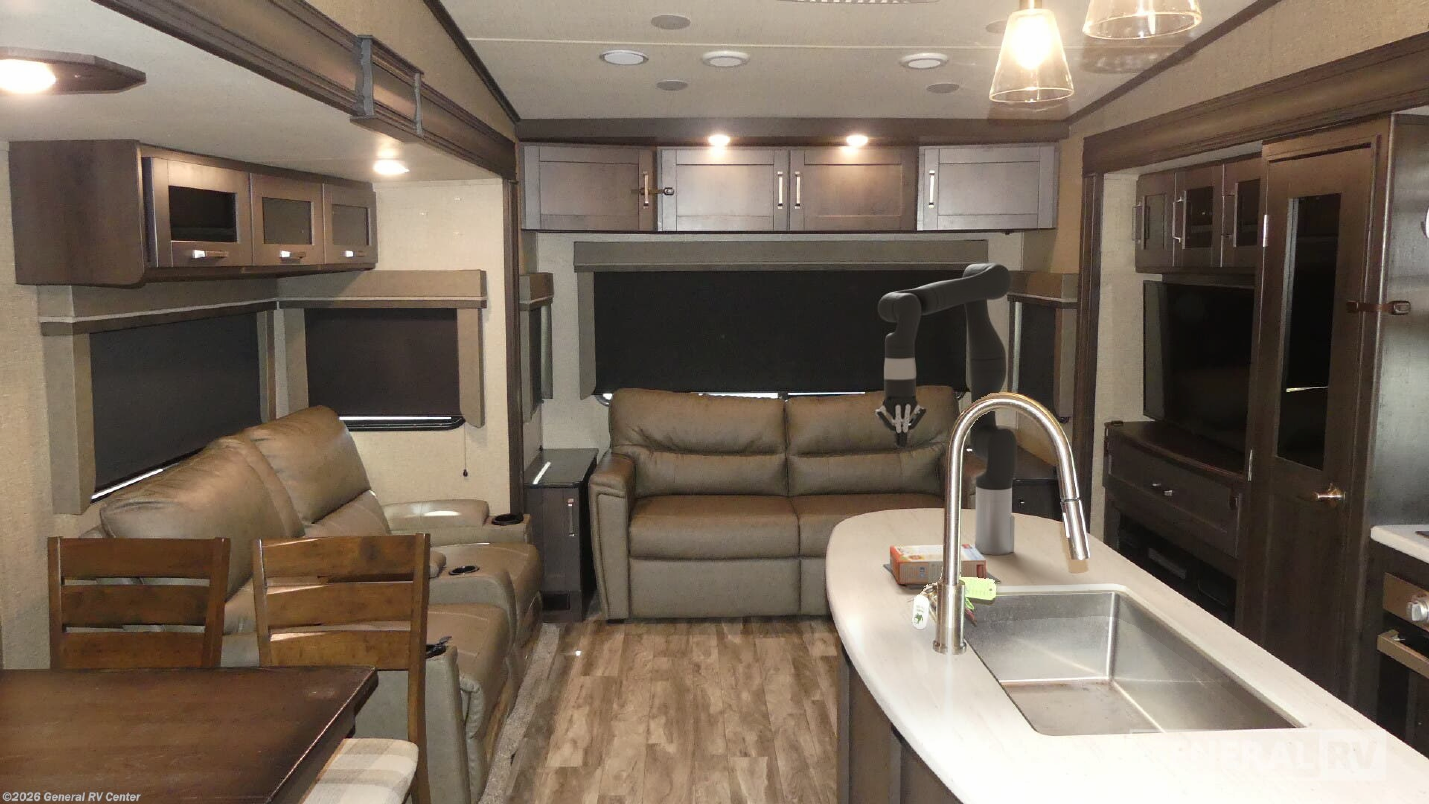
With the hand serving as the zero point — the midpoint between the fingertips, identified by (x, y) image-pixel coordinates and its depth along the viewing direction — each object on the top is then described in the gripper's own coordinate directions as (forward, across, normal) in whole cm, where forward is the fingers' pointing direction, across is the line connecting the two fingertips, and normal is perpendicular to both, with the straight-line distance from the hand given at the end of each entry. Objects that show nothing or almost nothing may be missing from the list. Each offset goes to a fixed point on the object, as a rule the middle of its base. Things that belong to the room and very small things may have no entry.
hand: (900, 447), depth 258 cm
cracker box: (+28, +4, +4) cm, 29 cm away
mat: (+32, -9, +3) cm, 33 cm away
